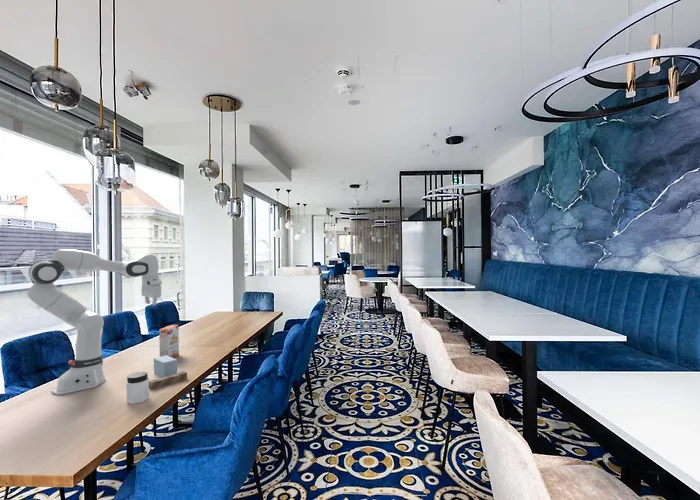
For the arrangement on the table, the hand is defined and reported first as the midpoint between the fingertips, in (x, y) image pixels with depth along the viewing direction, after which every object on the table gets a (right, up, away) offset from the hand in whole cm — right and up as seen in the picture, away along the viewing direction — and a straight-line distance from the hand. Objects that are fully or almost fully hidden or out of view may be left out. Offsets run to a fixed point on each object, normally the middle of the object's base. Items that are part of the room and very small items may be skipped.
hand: (151, 304), depth 208 cm
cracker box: (+1, -39, +20) cm, 44 cm away
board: (+24, -38, -25) cm, 52 cm away
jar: (+20, -38, -45) cm, 63 cm away
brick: (+15, -39, -11) cm, 43 cm away
